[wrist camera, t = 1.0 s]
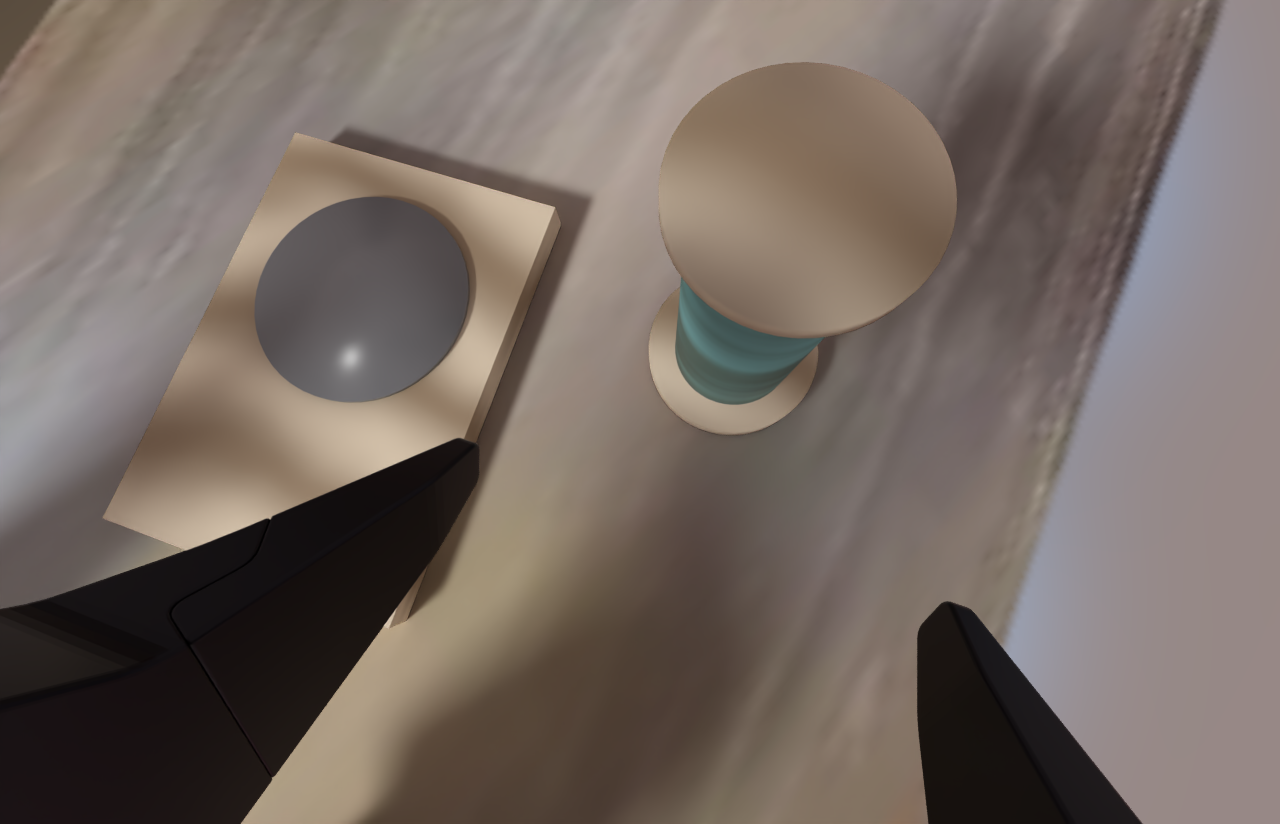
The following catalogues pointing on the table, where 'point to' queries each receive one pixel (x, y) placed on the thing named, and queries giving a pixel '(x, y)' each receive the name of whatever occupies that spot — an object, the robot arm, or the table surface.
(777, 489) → the table surface
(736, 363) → the bobbin
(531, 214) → the stand board
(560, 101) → the table surface
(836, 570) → the table surface
